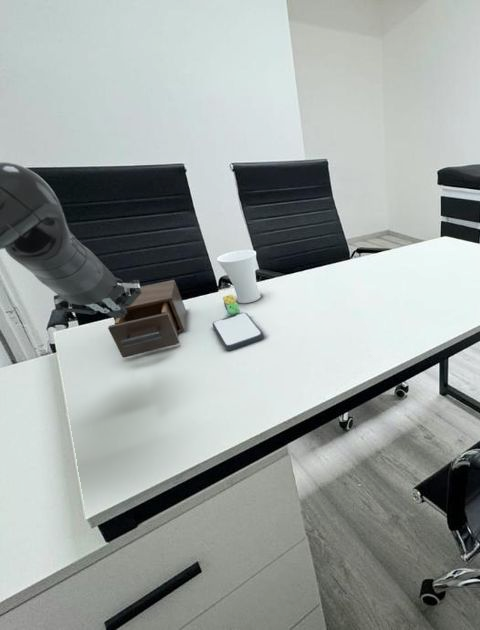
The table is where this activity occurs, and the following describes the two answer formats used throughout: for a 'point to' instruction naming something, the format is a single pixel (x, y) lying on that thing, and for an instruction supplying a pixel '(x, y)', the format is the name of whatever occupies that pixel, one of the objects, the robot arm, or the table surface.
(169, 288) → the cabinet
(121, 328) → the drawer
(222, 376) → the table surface
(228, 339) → the phone case
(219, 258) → the cup
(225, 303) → the kitchen sponge
